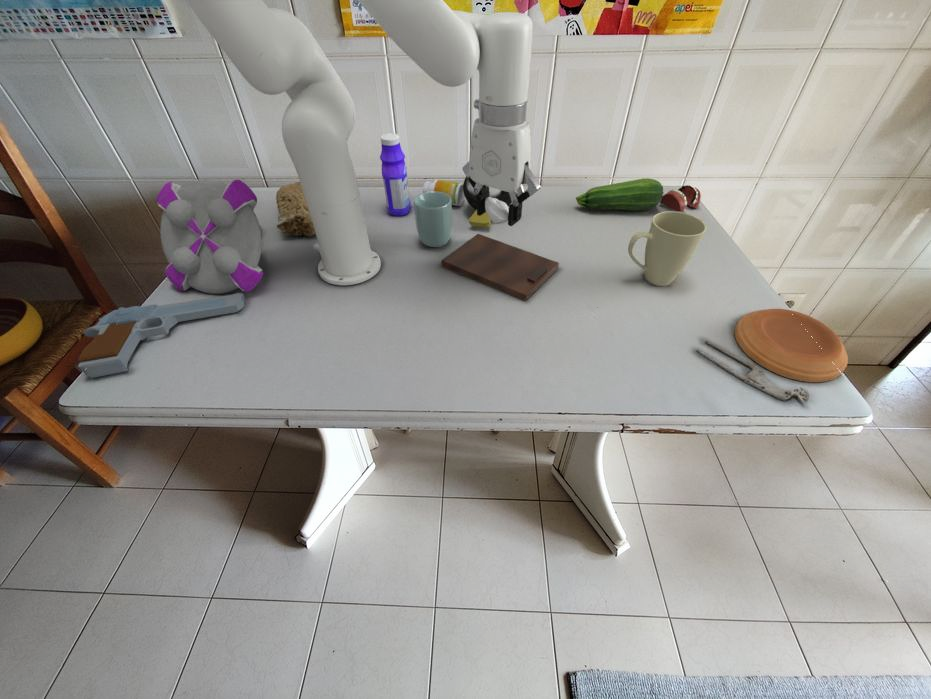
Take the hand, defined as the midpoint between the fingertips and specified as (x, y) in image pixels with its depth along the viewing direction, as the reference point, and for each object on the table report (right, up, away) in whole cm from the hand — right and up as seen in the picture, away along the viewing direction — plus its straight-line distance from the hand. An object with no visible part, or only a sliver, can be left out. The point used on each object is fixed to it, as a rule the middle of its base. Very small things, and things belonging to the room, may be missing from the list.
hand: (498, 217), depth 79 cm
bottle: (-23, +9, +26) cm, 35 cm away
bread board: (+1, -8, +7) cm, 11 cm away
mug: (+31, -11, +4) cm, 33 cm away
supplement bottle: (-7, +13, +25) cm, 29 cm away
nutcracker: (+36, -30, -15) cm, 49 cm away
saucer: (+47, -22, -12) cm, 53 cm away
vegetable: (+31, +9, +25) cm, 40 cm away
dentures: (+43, +11, +22) cm, 49 cm away
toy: (-55, -5, -4) cm, 55 cm away
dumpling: (0, -1, +1) cm, 1 cm away
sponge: (-46, +7, +23) cm, 51 cm away
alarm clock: (-1, +8, +24) cm, 25 cm away
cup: (-13, -1, +15) cm, 20 cm away
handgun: (-55, -27, -13) cm, 63 cm away
